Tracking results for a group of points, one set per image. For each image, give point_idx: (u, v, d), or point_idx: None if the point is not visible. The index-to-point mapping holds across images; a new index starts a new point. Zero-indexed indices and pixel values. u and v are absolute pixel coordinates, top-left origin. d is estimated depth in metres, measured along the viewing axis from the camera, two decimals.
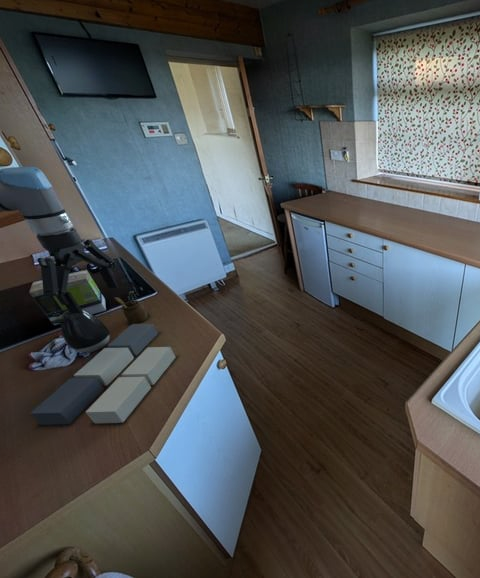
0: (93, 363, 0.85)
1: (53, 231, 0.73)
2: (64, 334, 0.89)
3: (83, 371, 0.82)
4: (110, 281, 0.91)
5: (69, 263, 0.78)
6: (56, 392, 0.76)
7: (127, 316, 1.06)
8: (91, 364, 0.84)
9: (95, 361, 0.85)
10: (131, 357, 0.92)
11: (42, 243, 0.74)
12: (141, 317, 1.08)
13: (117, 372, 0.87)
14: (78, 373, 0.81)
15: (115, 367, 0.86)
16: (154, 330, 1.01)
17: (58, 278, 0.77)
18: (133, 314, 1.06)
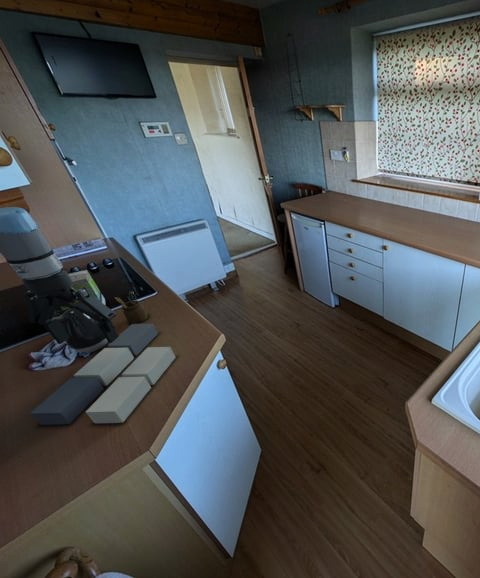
0: (93, 363, 0.85)
1: None
2: None
3: (83, 371, 0.82)
4: None
5: (44, 304, 0.73)
6: (56, 392, 0.76)
7: (127, 316, 1.06)
8: (91, 364, 0.84)
9: (95, 361, 0.85)
10: (131, 357, 0.92)
11: None
12: (141, 317, 1.08)
13: (117, 372, 0.87)
14: (78, 373, 0.81)
15: (115, 367, 0.86)
16: (154, 330, 1.01)
17: None
18: (133, 314, 1.06)
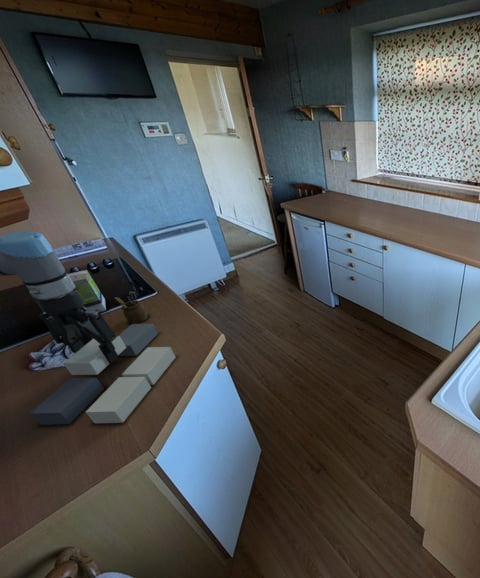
0: (84, 351, 0.82)
1: (33, 295, 0.71)
2: None
3: (73, 359, 0.80)
4: None
5: (59, 324, 0.76)
6: (56, 392, 0.76)
7: (127, 316, 1.06)
8: (82, 352, 0.82)
9: (86, 349, 0.83)
10: (123, 346, 0.89)
11: None
12: (141, 317, 1.08)
13: None
14: (68, 361, 0.79)
15: None
16: (154, 330, 1.01)
17: None
18: (133, 314, 1.06)
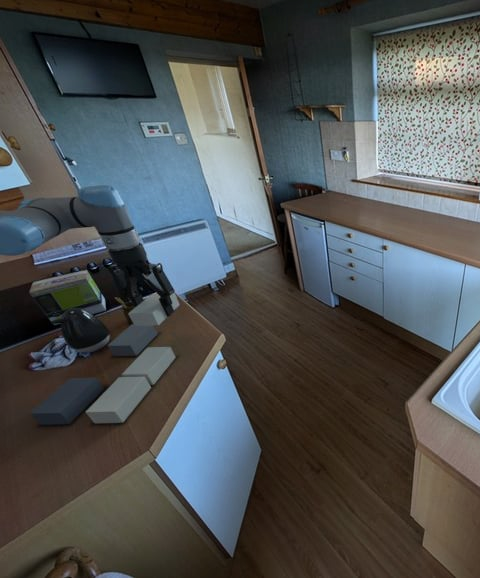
0: (144, 304, 0.88)
1: None
2: (64, 334, 0.89)
3: (136, 310, 0.86)
4: None
5: (125, 276, 0.82)
6: (56, 392, 0.76)
7: (127, 316, 1.06)
8: (143, 305, 0.88)
9: (146, 303, 0.89)
10: (177, 303, 0.95)
11: None
12: None
13: None
14: (132, 312, 0.85)
15: None
16: (154, 330, 1.01)
17: None
18: None
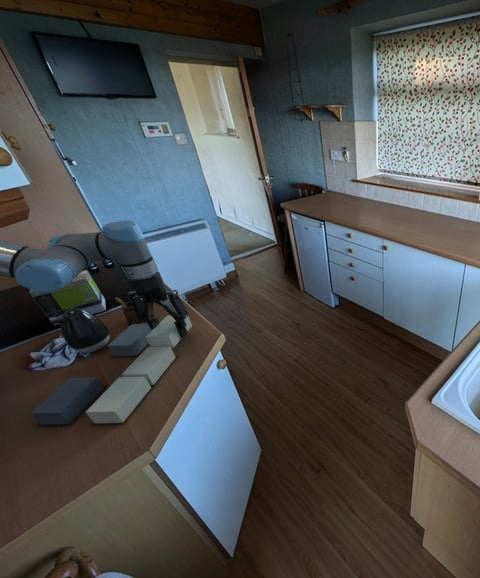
0: (160, 327, 0.94)
1: (126, 276, 0.82)
2: (64, 334, 0.89)
3: (153, 333, 0.91)
4: None
5: (144, 302, 0.88)
6: (56, 392, 0.76)
7: (127, 316, 1.06)
8: (159, 328, 0.93)
9: (162, 326, 0.94)
10: (190, 324, 1.01)
11: None
12: None
13: None
14: (149, 335, 0.90)
15: None
16: None
17: None
18: (133, 314, 1.06)
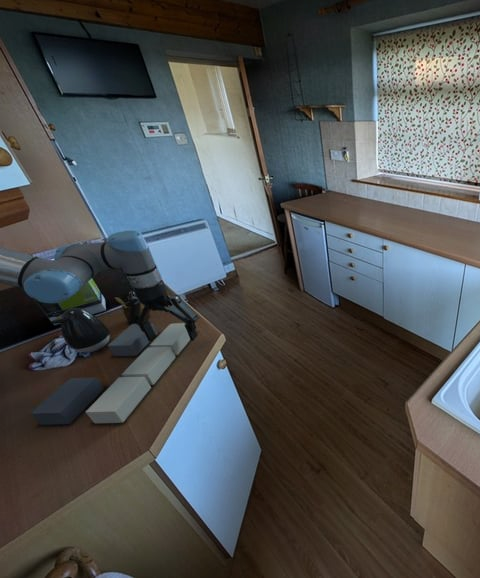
0: (164, 335, 0.95)
1: None
2: (64, 334, 0.89)
3: (157, 341, 0.93)
4: None
5: (145, 308, 0.89)
6: (56, 392, 0.76)
7: (127, 316, 1.06)
8: (163, 336, 0.95)
9: (165, 334, 0.96)
10: None
11: None
12: None
13: (184, 344, 0.97)
14: (153, 343, 0.92)
15: (183, 339, 0.97)
16: (154, 330, 1.01)
17: None
18: None
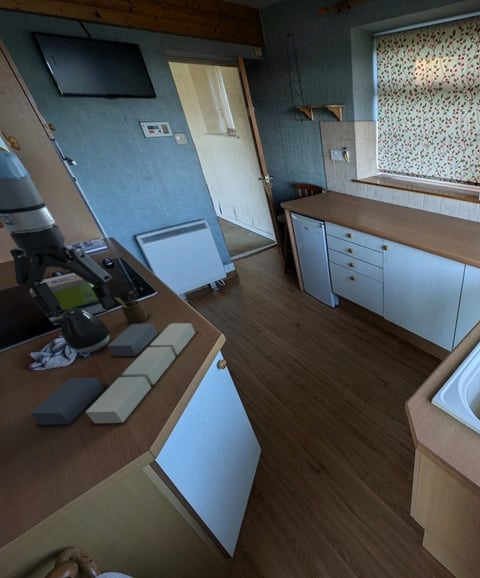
0: (164, 335, 0.95)
1: (5, 227, 0.62)
2: (64, 334, 0.89)
3: (157, 341, 0.93)
4: None
5: (33, 263, 0.67)
6: (56, 392, 0.76)
7: (127, 316, 1.06)
8: (163, 336, 0.95)
9: (165, 334, 0.96)
10: (193, 332, 1.02)
11: None
12: (141, 317, 1.08)
13: (184, 344, 0.97)
14: (153, 343, 0.92)
15: (183, 339, 0.97)
16: (154, 330, 1.01)
17: None
18: (133, 314, 1.06)
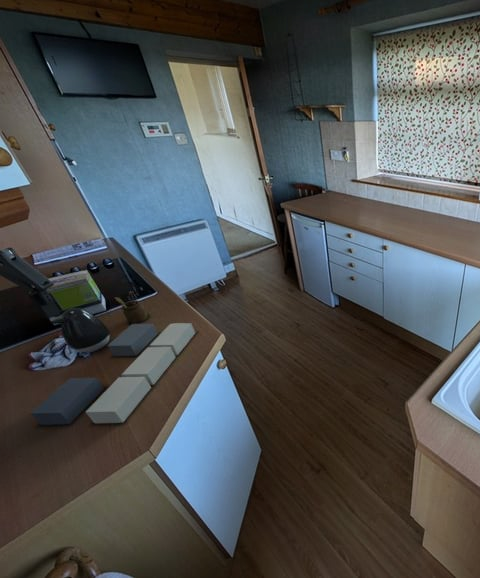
0: (164, 335, 0.95)
1: None
2: (64, 334, 0.89)
3: (157, 341, 0.93)
4: None
5: None
6: (56, 392, 0.76)
7: (127, 316, 1.06)
8: (163, 336, 0.95)
9: (165, 334, 0.96)
10: (193, 332, 1.02)
11: None
12: (141, 317, 1.08)
13: (184, 344, 0.97)
14: (153, 343, 0.92)
15: (183, 339, 0.97)
16: (154, 330, 1.01)
17: None
18: (133, 314, 1.06)
